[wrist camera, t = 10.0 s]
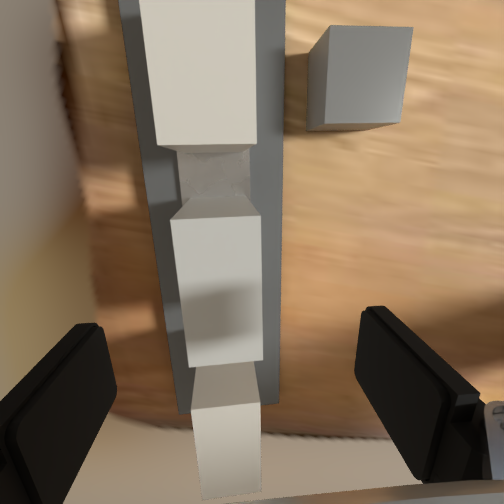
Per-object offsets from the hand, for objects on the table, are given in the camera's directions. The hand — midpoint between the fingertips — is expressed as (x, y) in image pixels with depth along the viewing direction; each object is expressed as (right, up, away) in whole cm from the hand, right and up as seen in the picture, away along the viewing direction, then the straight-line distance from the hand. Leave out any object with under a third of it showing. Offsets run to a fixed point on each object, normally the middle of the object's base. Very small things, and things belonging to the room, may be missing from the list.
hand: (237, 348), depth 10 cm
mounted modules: (-2, +4, +11) cm, 12 cm away
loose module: (-2, +4, +11) cm, 12 cm away
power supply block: (+7, +15, +10) cm, 20 cm away
